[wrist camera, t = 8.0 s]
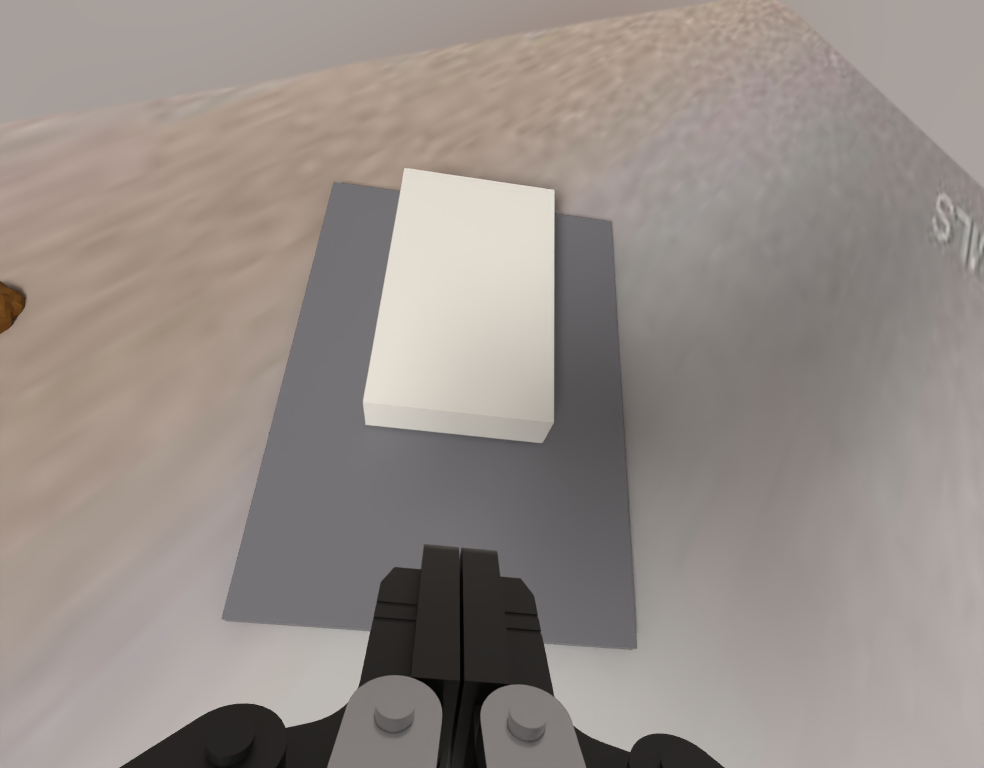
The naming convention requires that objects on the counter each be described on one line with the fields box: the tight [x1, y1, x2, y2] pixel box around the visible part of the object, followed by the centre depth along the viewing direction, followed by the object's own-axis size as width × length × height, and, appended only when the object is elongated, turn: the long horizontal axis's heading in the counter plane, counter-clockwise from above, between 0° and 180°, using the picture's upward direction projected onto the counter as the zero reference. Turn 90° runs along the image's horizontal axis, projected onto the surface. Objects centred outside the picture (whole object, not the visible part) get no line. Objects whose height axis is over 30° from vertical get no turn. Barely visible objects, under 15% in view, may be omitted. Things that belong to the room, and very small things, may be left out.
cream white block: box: [363, 168, 554, 443], centre depth 25 cm, size 2×7×12 cm
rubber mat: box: [222, 182, 637, 650], centre depth 25 cm, size 20×14×1 cm
